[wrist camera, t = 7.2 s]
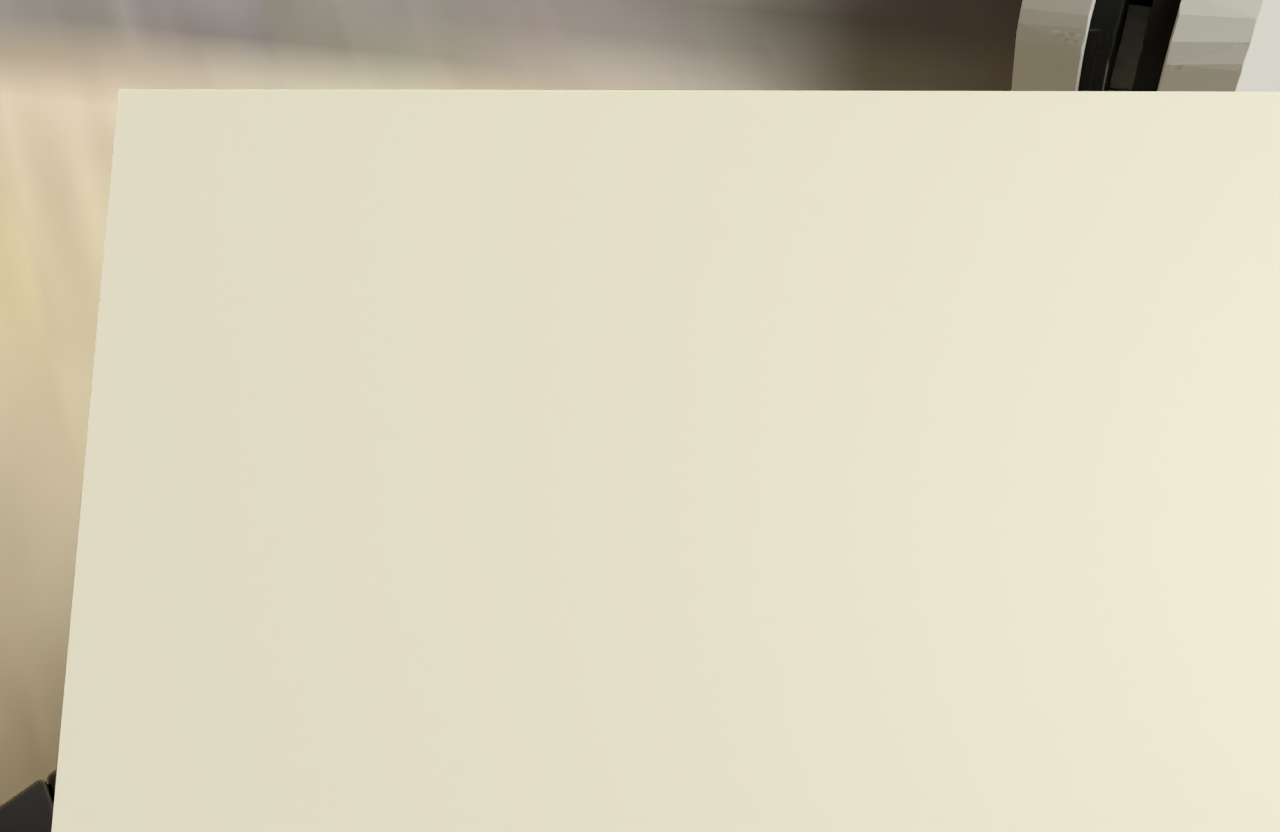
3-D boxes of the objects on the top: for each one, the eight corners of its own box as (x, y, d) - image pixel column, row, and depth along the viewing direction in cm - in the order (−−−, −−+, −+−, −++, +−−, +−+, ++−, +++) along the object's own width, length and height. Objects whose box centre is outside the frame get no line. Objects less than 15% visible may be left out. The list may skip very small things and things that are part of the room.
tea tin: (863, 926, 15) (2084, 1992, 3) (473, 939, 15) (-70, 2180, 3) (839, 539, 16) (1618, 91, 4) (476, 545, 16) (120, 86, 4)
